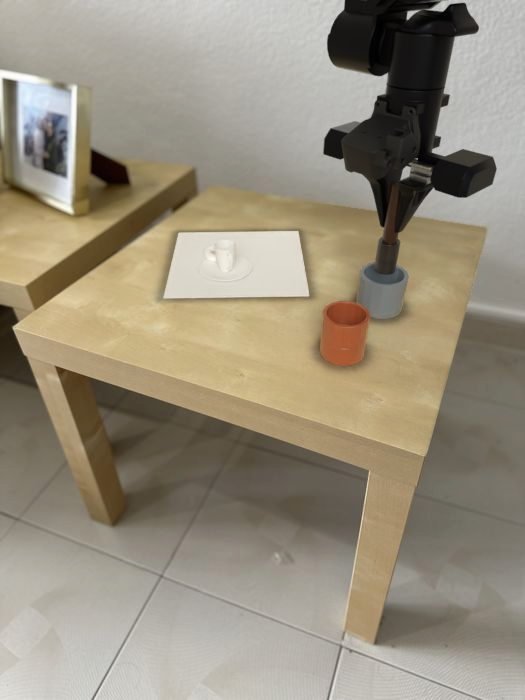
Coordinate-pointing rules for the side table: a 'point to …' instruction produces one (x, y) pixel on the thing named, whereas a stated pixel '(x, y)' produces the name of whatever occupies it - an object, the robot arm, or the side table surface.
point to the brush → (389, 236)
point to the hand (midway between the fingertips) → (391, 229)
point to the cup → (382, 291)
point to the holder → (344, 332)
